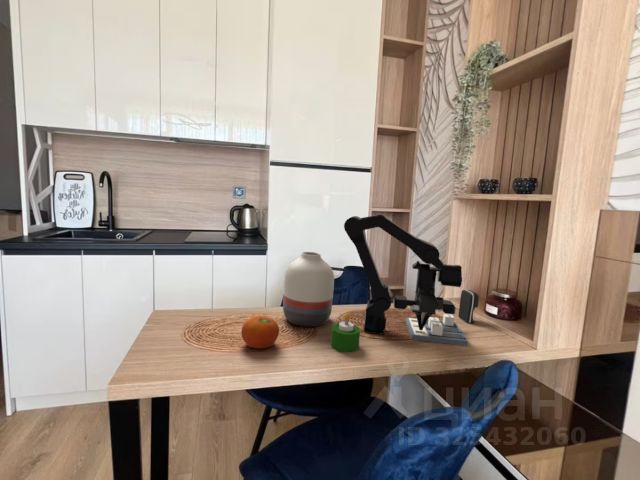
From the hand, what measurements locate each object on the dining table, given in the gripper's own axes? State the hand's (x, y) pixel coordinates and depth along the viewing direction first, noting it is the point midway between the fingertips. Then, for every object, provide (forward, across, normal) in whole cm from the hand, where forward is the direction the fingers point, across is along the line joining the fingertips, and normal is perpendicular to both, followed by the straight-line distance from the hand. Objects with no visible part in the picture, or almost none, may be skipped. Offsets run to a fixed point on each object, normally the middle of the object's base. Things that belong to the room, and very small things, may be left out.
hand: (420, 329), depth 115 cm
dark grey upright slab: (+3, +21, +22) cm, 30 cm away
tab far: (+1, +11, +10) cm, 15 cm away
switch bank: (+2, +6, +5) cm, 8 cm away
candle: (+3, -24, -14) cm, 28 cm away
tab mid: (+1, +5, +5) cm, 7 cm away
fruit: (+2, -48, -20) cm, 52 cm away
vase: (+2, -38, +4) cm, 38 cm away
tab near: (+1, +5, 0) cm, 5 cm away
